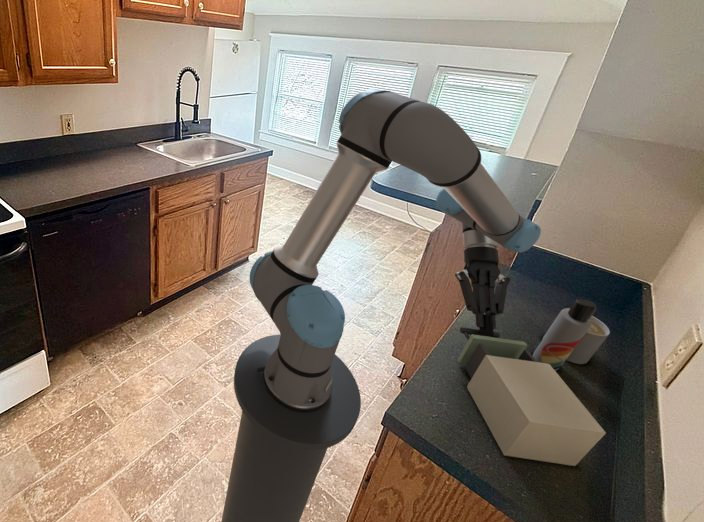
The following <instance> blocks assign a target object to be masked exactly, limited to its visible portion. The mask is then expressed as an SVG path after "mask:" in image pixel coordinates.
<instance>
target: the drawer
mask: <svg viewBox="0 0 704 522" xmlns="http://www.w3.org/2000/svg"><path fill="white" fill-rule="evenodd" d="M459 333H460V334H463V335H464V337H465V338H466V340H467V341H466V343H465V345H464V347H463V349H462V350H461V352H460V353H459V356H458V357H457V362H458V364H459V365H465V367H464V368H465V370H466V372H467V374H468V376H469V378H470V380H471V379H472V377H473V376H474V374H475V372H476V371H477V369H478V367H479V366H480V364H481V362H482V361H483V359H484V357H485V356H486V355H490V356H497V357H504V358H511V359H518V360H525V361H532V362H537V361H536V360H535V359H534V357H533V354H531V352H530V351H529V349H527V347H528V344H527V343H526V341H522V340H517V339H516V340H515V339H507V338H501V337H500V333H499V332H498V331H495V330H493V333H494V337H487V336H480V330H479V328H472V327H466V326H461V327H460V328H459Z"/></svg>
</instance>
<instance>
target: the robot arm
mask: <svg viewBox="0 0 704 522" xmlns="http://www.w3.org/2000/svg"><path fill="white" fill-rule="evenodd" d="M338 123H339V125H338V129H339V132H340V136H339V137H338V139H337V141H336V149H337V154H336V156H335V158H334V160H333V162H332V163H331V165H330V167H329V169H328V171H327V172H326V173H325V175H324V177H323V179H322V180H321V182H320V184H319V185H318V187H317V188H316V191H315V192H314V194H313V195H312V197H311V199H310V201H309V202H308V204H307V206H306V208H305V209H304V211H303V212H302V213H301V215H300V218H299V219H298V220H297V223H296V224H295V226H294V227H293V230H292V231H291V232H290V234H289V236H288V237H287V239H286V241H285V243H284V244H283V245H280V246H279V245H278V246H276V247H274V248H273V250H272V251H267V252H265V253H264V255H263V256H262V255H260V256H259V257H258V258H257V259H256V260H255V261H254V262H253V265H252V267H251V269H250V271H249V284H250V287H251V289H252V291H253V293H254V296H255V298H256V299H257V300H258V301H259V303H260V304H261V305H262V306H263V309H264V310H265V312H266V313H267V314H268V316H269V317H270V319H271V320H272V322H273V324H274V325H275V327H276V328H277V330H278V332H279V335H280V340H279V345H278V348H277V349H276V350H275V351H274V353H273V354H272V355H271V356H270V358H269V359H268V360H267V362H266V365H265V367H261V368H257V371H258V372H261V371H264V383H265V386H266V389H267V390H268V392H269V394H270V395H271V396H272V397H273V398H274V399H275V400H276V401H277V402H278V403H279V404H281V405H282V406H284V407H286V408H288V409H290V410H293V411H297V412H313V411H316V410H319V409H320V408H322V407H323V406H324V405H325V404H326V403H327V402H328V400H329V398H330V395H331V392H332V386H333V384H332V376H331V368H330V366H331V363H332V361H333V358H334V355H336V353H337V349H338V348H339V347H338V346H339V344H340V341H341V339H342V337H343V333H344V330H345V329H344V327H345V322H346V314H345V310H344V307H343V304H342V303H341V301H340V300H339V299H338V297H336V296H335V294H333V293H332V292H331V291H329V290H328V289H325V290H323V288H322V287H321V286H318V285H314V283H315V282H316V280H317V278H318V277H319V269H318V264H319V262H320V260H321V259H322V258H323V256H324V255H325V253H326V251H327V250H328V248H329V247H330V245H331V244H332V242H333V240H334V239H335V238H336V236H337V234H338V232H340V229H341V228H342V226H343V224H344V223H345V221H346V220H347V218H348V217H349V215H350V213H351V212H352V211H353V209H354V208H355V206H356V205H357V203H358V202H359V200H360V198H361V197H362V195H363V194H364V192H365V191H366V188H367V187H368V186H369V184H370V182H371V181H372V179H373V178H374V176H375V174H377V173H380V172H383V171H386V170H388V168H389V167H390V165H391V164H392V162H393V163H396V164H397V165H400V166H403V167H404V168H407V169H409V170H411V171H413V172H415V173H416V174H419V175H421V176H422V177H424V178H425V179H426V180H427V181H428V183H430V184H432V185H433V186H436V187H439V188H442V189H441V190H440V191H439V192H438V194H437V195H436V198H435V204H436V207H437V209H439V211H440V212H442V213H443V214H445V215H446V216H449V217H451V218H452V219H455V220H456V221H458V222H460V223H461V227H462V229H461V230H462V244H463V248H464V249H463V261H464V263H465V265H464V267H463V270H461V271H457V272H455V273H454V276H455V278H456V280H457V282H458V283H459V286H460V289H461V294H462V297H463V301H464V304H465V308H466V310H467V311H469V312H471V313H472V314H473V315H475V326H476V328H478V329H479V330H480V336H487V337H494V333H493V331H494V330H496V328H497V323H496V316H498V315H501V314H503V313H504V312H505V311H504V310H505V303H506V297H507V291H508V286H509V284H510V283H511V280H512V279H511V277H509V276H505V275H503V274H502V273H501V270H500V268H499V263H500V258H499V250H498V249H497V248H498V246H499V245H501V246H502V247H503V248H506V249H508V250H510V251H512V252H514V253H518V254H520V253H524V252H526V251H529V250H530V249H531V248H532V247H533V246H535V244H537V242H538V240H539V238H540V236H541V234H542V233H541V232H542V229H541V227H540V225H538V224H537V223H535V222H533V221H531V219H527V218H525V217H524V216H522V215H520V213H519V212H518V210H516V208H515V207H514V205H513V204H512V202H510V200H509V199H508V197H507V196H506V194H505V193H504V192H503V191H502V190H501V188H500V187H499V185H498V184H497V183H496V181H495V180H494V179H493V177H492V175H490V173H489V172H488V170H487V169H486V167H484V165H483V164H482V154H481V151H480V149H479V148H478V146H477V145H476V143H475V141H473V139H472V138H471V136H469V134H468V133H467V132H466V131H465V130H464V129H463V127H462V126H460V125H459V124H458V123H457V121H455V119H453V118H452V116H450V115H449V114H448V113H447V112H445V111H444V110H442V109H441V108H439V107H437V106H436V105H434V104H431V103H428V102H425V101H421V100H417V99H415V98H411V97H408V96H405V95H402V94H400V93H397V92H394V91H391V90H385V89H377V88H370V89H366V90H364V91H360V92H359V93H357V94H355V95H354V96H352V98H350V100H348V101H347V103H346V104H345V105H344V106H343V108H342V110H341V112H340V114H339V119H338ZM498 244H499V245H498Z"/></svg>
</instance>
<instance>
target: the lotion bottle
mask: <svg viewBox="0 0 704 522" xmlns="http://www.w3.org/2000/svg"><path fill="white" fill-rule="evenodd" d="M569 308H570V310H564V311H562V312H561V311H560V312H561V314H560V315H559V314H558V315H559V316H558V315H557V316H558V318H557V317H556V318H557V319H556V318H555V319H556V321H555V320H554V321H555V322H554V321H553V322H554V324H553V325H552V324H551V325H552V327H551V328H550V327H549V328H550V330H549V331H548V330H547V331H548V332H547V331H546V332H547V334H546V333H545V334H546V335H545V334H544V335H545V337H544V336H543V337H544V338H543V337H542V340H541V341H540V342H539V344H538V345H537V347H536V348H535V350H534V351H533V354H532V356H533V357H534V359H535V360H536V361H537V362H539V363H546V364H550V365H551V367H552V368H553V369H554V370H555V371H556V372H557V371H558V370H559V369H560V368H561V367H562V366H563V364H564V363H565V362H566V361H567V360H566V359H567V358H568V356H569V355H570V354H571V352H572V351H573V350H574V348H575V347H576V346H577V344H578V343H579V342H580V340H581V339H582V338H583V336H584V335H585V334H586V332H587V331H588V330H589V328H590V327H591V323H590V321H589V319H590V317H591V316H594V314H595V312H596V311H597V309H598V307H597V305H596V303H594V302H592V301H591V300H589V299H587V298H577V299H576V300H575V301H574V302H573V304H572V305H571V306H570V307H569Z"/></svg>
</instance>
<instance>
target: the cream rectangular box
mask: <svg viewBox="0 0 704 522" xmlns="http://www.w3.org/2000/svg"><path fill="white" fill-rule="evenodd" d="M466 388H467V390H468V393H469V394H470V396H471V397H472V399H473V401H474V403H475V405H476V407H477V408H478V410H479V412H480V414H481V416H482V418H483V419H484V422H485V423H486V425H487V427H488V429H489V431H490V432H491V434H492V436H493V438H494V440H495V442H496V443H497V445H498V447H499V449H500V451H501V453H502V455H503V456H504V457H505V456H506V457H512V458H519V459H525V460H532V461H533V460H534V461H538V462H546V463H552V464H558V465H565V466H573V467H576V466H577V465H578V464H579V463H580V462H581V460H582V459H584V457H585V456H586V455H587V454H588V453H590V451H591V450H592V449H593V448H594V447H595V446H596V444H597V443H598V442H599V441H600V440H601V439H602V438H603V437H604V436H605V435H606V434H607V432H606V431H605V429H603V428H602V426H601V425H600V424H599V423H598V421H597V420H596V419H595V418H594V416H593V415H592V414H591V413H590V412H589V410H588V409H587V408H586V407H585V405H584V404H583V403H582V401H580V399H579V398H578V397H577V396H576V395H575V393H574V392H573V391H572V389H570V387H569V386H568V385H567V384H566V382H565V381H564V380H563V379H562V378H561V376H560V375H559V373H558V372H557V370H556V371H555V370H554V369H553V368H552V367H551V365H550V364H546V363H539V362H532V361H525V360H518V359H511V358H504V357H497V356H490V355H486V356H485V357H484V359H483V361H482V362H481V364H480V366H479V367H478V369H477V371H476V372H475V374H474V376H473V377H472V379H471V378H470V381H469V382H468V384H467V386H466Z"/></svg>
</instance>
